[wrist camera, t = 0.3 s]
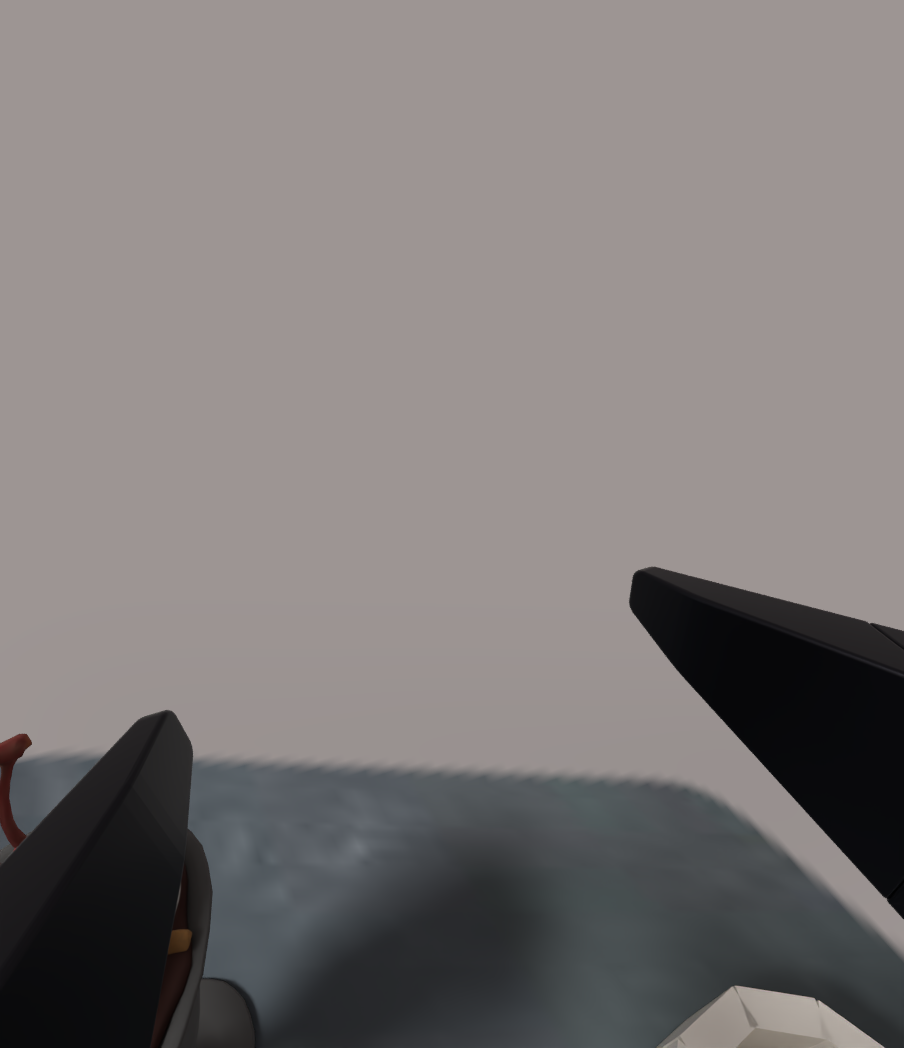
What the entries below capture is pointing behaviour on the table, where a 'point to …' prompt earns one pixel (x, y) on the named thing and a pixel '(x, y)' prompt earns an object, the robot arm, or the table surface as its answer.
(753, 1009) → the bowl
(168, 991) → the sundae
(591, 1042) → the table surface
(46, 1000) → the robot arm
